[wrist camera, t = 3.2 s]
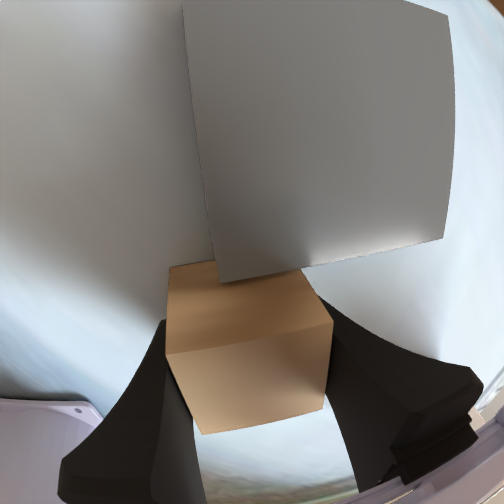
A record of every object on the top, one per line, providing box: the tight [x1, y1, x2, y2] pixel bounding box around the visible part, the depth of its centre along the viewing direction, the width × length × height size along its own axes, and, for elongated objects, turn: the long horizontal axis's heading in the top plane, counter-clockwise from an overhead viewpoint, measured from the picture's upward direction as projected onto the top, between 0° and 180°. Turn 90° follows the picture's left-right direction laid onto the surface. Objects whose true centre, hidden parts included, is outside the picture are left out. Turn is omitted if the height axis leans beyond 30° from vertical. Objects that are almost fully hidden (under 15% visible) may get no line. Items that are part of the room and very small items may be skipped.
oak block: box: [165, 260, 334, 435], centre depth 11 cm, size 4×4×4 cm
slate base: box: [182, 0, 455, 283], centre depth 9 cm, size 9×9×2 cm
